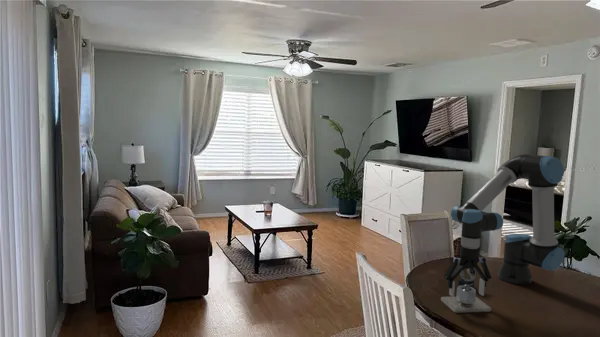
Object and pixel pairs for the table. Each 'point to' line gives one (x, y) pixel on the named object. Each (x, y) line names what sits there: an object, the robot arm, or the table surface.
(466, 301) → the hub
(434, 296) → the table surface
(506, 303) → the table surface
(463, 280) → the watch
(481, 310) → the block
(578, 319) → the table surface
